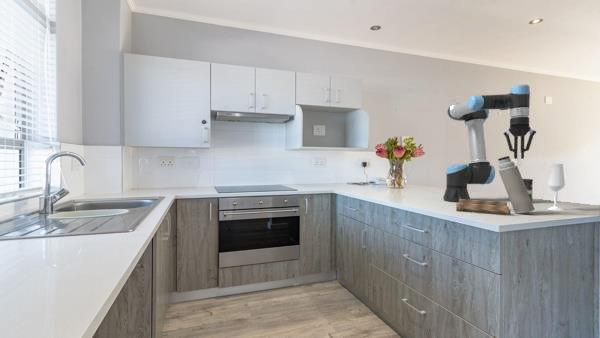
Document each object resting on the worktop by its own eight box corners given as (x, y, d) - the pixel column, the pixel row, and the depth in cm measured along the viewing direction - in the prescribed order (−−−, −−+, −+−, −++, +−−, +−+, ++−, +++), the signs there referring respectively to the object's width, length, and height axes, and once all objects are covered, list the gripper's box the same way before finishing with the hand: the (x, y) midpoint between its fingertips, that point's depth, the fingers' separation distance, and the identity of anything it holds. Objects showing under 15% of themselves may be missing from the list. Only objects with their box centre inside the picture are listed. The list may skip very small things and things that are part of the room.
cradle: (506, 209, 151) (506, 202, 151) (508, 215, 136) (508, 207, 136) (459, 206, 163) (459, 199, 163) (456, 211, 148) (456, 203, 148)
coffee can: (531, 201, 176) (531, 178, 175) (533, 203, 167) (534, 180, 166) (510, 200, 181) (510, 178, 180) (511, 202, 172) (512, 179, 172)
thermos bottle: (511, 213, 144) (491, 160, 148) (527, 208, 143) (506, 156, 147) (521, 213, 136) (499, 158, 140) (538, 209, 135) (516, 153, 139)
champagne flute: (560, 208, 151) (561, 163, 150) (567, 211, 145) (568, 163, 144) (544, 208, 153) (545, 163, 152) (550, 210, 147) (551, 164, 146)
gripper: (503, 117, 140) (503, 165, 141) (537, 115, 133) (537, 165, 133) (502, 119, 146) (502, 165, 147) (535, 117, 139) (534, 165, 140)
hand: (518, 165), depth 140 cm, fingers closed
